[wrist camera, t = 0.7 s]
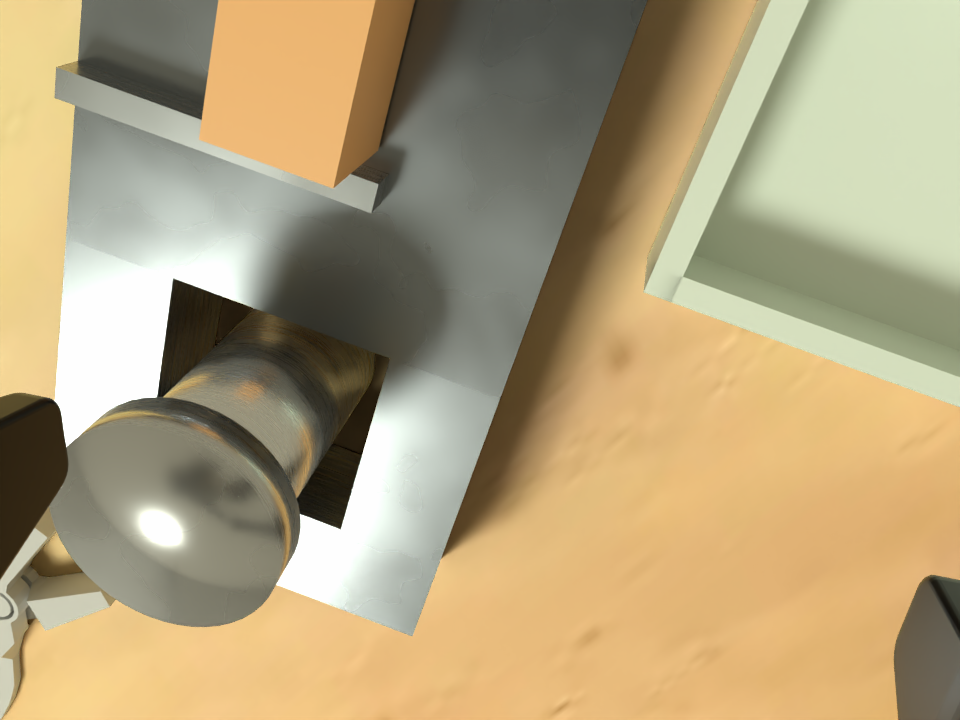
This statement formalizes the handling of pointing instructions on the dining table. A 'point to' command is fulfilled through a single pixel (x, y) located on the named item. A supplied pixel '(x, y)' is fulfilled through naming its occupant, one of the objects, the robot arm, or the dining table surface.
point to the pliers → (38, 604)
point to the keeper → (303, 81)
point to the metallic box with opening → (336, 250)
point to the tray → (831, 190)
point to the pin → (209, 473)
